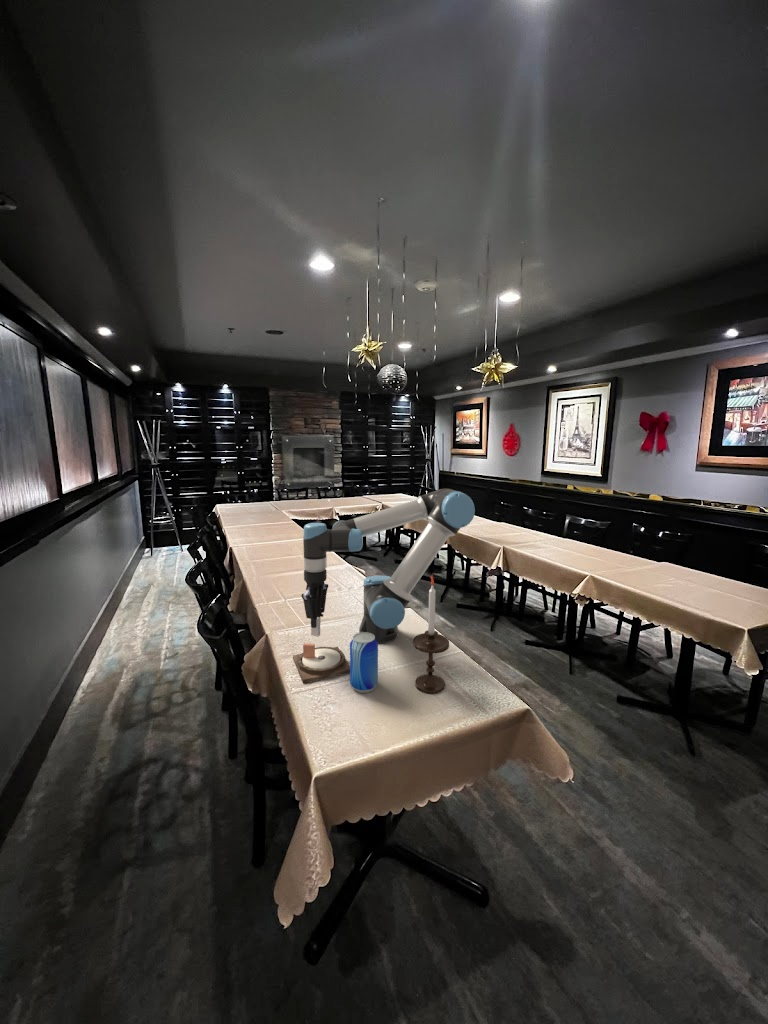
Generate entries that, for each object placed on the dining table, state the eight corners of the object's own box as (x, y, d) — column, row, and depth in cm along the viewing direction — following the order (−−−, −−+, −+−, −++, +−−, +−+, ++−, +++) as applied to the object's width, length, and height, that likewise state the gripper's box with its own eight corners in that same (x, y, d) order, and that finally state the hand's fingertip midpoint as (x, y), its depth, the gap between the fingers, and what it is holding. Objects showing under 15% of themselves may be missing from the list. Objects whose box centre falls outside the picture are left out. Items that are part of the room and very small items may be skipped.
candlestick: (411, 674, 129) (413, 569, 123) (445, 675, 129) (448, 570, 123) (413, 695, 118) (414, 581, 113) (450, 696, 118) (453, 581, 112)
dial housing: (337, 649, 145) (337, 642, 144) (352, 672, 130) (352, 664, 130) (292, 658, 138) (292, 650, 138) (302, 683, 124) (302, 674, 123)
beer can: (367, 697, 117) (367, 646, 114) (344, 688, 121) (344, 639, 119) (383, 683, 124) (383, 635, 122) (360, 675, 128) (360, 628, 126)
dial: (344, 652, 140) (343, 637, 139) (335, 672, 127) (335, 656, 126) (308, 650, 141) (308, 635, 140) (297, 670, 129) (296, 653, 128)
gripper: (316, 562, 142) (317, 625, 146) (294, 572, 131) (295, 640, 134) (335, 565, 139) (335, 629, 143) (313, 576, 128) (314, 645, 131)
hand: (315, 635), depth 139 cm, fingers closed
